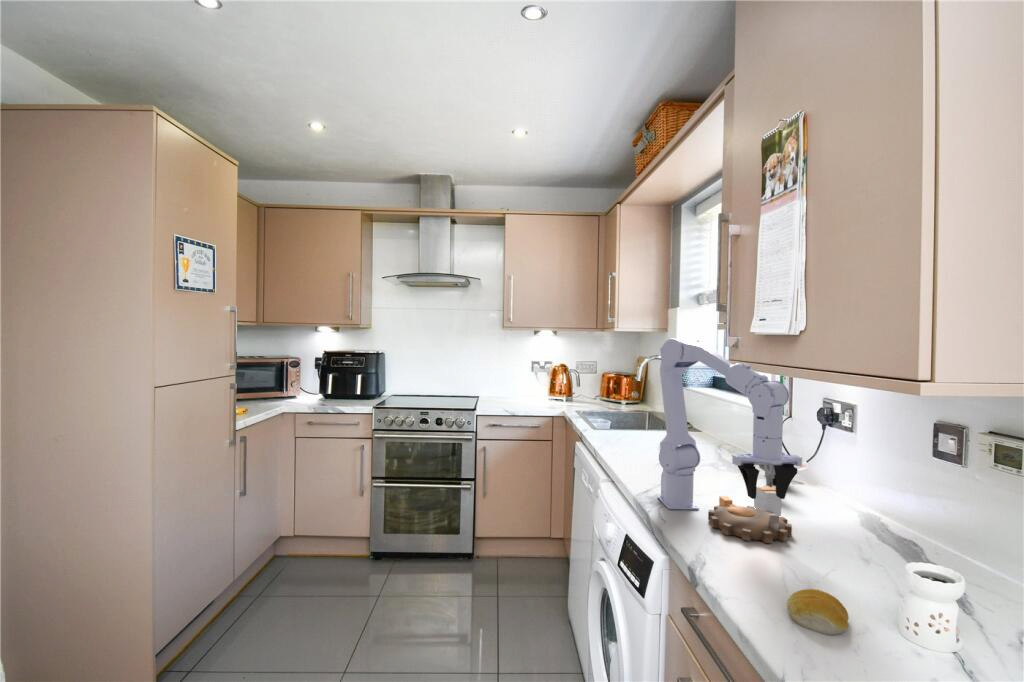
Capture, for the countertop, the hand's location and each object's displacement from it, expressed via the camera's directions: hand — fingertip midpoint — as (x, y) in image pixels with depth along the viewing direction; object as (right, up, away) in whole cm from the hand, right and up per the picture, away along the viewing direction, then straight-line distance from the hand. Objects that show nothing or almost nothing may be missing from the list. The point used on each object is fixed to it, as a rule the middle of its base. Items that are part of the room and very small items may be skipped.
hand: (766, 497), depth 105 cm
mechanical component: (+18, -9, +32) cm, 38 cm away
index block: (-1, -9, +18) cm, 20 cm away
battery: (+26, -9, +42) cm, 50 cm away
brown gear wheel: (-1, -9, +6) cm, 11 cm away
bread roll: (-7, -10, -29) cm, 32 cm away
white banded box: (+9, -9, +16) cm, 21 cm away
